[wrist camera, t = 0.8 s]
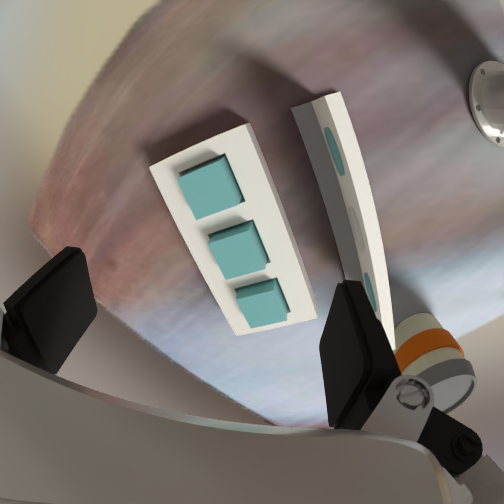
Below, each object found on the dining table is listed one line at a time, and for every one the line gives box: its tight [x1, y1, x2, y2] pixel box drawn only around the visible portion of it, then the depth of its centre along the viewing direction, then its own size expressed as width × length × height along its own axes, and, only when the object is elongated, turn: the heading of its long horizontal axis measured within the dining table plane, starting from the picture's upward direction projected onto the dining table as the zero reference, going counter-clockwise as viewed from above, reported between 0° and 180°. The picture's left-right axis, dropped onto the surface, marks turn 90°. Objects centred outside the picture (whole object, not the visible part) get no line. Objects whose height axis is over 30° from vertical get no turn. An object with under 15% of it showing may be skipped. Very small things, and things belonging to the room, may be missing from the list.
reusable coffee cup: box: [393, 313, 477, 414], centre depth 36 cm, size 13×13×15 cm
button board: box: [149, 123, 318, 336], centre depth 36 cm, size 12×26×4 cm, turn 22°
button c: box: [236, 277, 288, 328], centre depth 37 cm, size 5×5×3 cm
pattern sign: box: [291, 92, 395, 350], centre depth 28 cm, size 6×26×13 cm, turn 22°
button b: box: [208, 219, 267, 280], centre depth 34 cm, size 5×5×3 cm
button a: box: [177, 156, 243, 220], centre depth 31 cm, size 5×5×3 cm
